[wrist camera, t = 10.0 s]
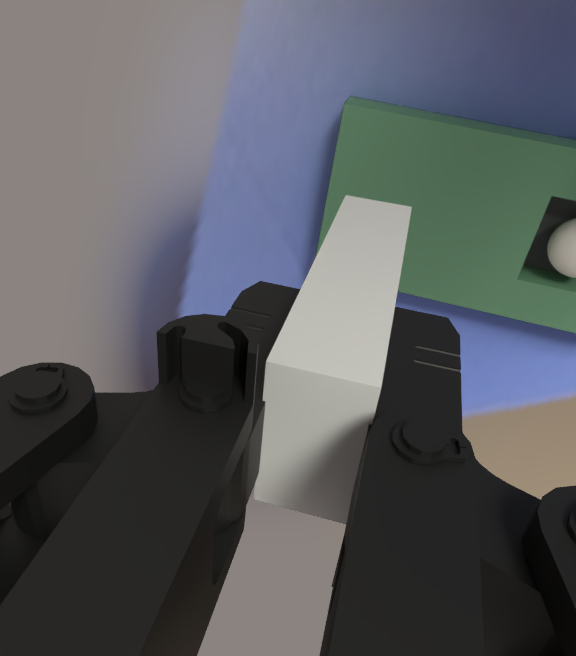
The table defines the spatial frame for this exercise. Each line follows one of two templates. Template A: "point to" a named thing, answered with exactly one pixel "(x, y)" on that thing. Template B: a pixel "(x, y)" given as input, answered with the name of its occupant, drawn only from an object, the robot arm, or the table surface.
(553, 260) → the ball
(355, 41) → the table surface
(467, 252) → the green
